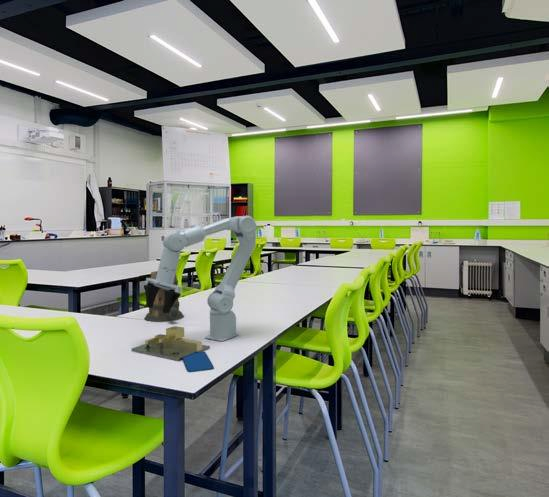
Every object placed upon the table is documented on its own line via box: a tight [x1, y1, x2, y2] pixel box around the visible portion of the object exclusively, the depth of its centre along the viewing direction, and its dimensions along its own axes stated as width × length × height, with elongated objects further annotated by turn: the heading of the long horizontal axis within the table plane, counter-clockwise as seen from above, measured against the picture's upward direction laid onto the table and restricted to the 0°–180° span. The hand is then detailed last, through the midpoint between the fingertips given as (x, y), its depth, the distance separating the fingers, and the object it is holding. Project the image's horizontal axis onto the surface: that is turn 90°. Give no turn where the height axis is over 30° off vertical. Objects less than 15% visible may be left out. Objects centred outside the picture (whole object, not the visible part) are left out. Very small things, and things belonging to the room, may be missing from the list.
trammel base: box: [130, 333, 211, 362], centre depth 127 cm, size 14×20×3 cm
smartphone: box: [181, 351, 215, 373], centre depth 115 cm, size 7×1×15 cm
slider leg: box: [159, 325, 185, 350], centre depth 127 cm, size 8×4×5 cm, turn 150°
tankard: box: [143, 270, 185, 323], centre depth 170 cm, size 24×17×20 cm
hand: (157, 310), depth 130 cm, fingers open, 7 cm apart
